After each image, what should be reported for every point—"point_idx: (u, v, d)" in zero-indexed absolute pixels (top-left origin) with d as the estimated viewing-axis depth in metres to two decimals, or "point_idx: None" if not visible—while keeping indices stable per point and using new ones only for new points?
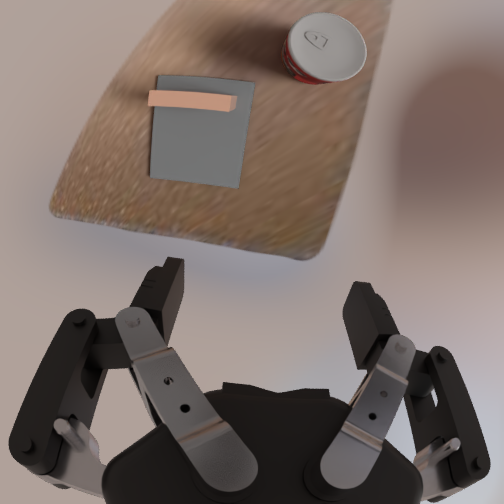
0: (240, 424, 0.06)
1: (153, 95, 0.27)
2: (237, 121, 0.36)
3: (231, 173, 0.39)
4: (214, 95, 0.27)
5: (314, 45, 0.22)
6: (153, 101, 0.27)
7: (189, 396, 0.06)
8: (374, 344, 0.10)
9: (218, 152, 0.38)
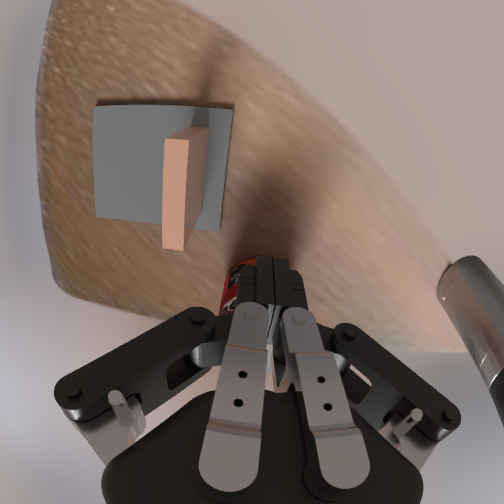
0: None
1: (180, 146, 0.19)
2: None
3: (109, 209, 0.30)
4: (181, 231, 0.23)
5: None
6: (171, 147, 0.19)
7: (250, 396, 0.07)
8: (275, 317, 0.11)
9: (130, 192, 0.29)
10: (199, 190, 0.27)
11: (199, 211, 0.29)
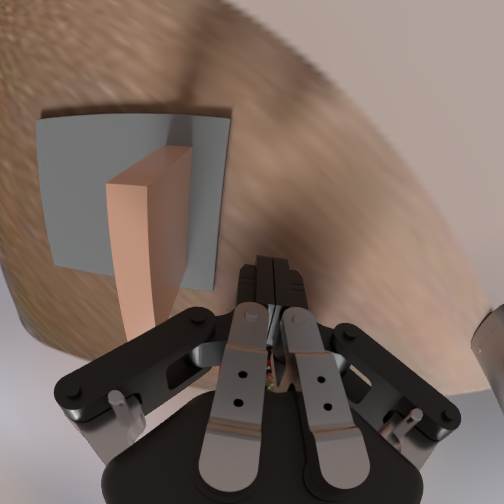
0: None
1: (133, 198, 0.10)
2: None
3: (68, 257, 0.22)
4: (151, 325, 0.14)
5: None
6: (117, 198, 0.10)
7: (250, 396, 0.07)
8: (275, 316, 0.11)
9: (90, 238, 0.21)
10: (180, 244, 0.18)
11: (183, 269, 0.20)
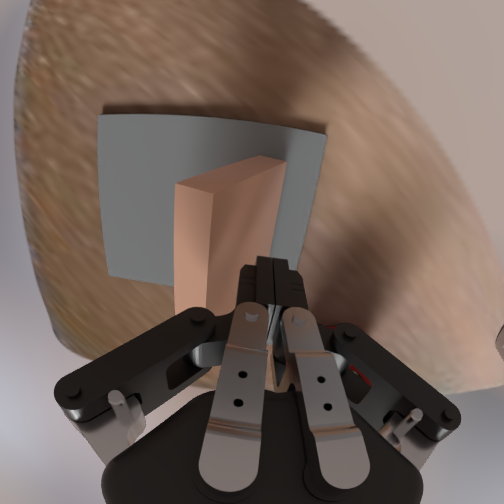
0: None
1: (199, 203, 0.11)
2: None
3: (128, 267, 0.22)
4: None
5: None
6: (184, 200, 0.11)
7: (250, 396, 0.07)
8: (275, 317, 0.11)
9: (159, 248, 0.21)
10: None
11: None
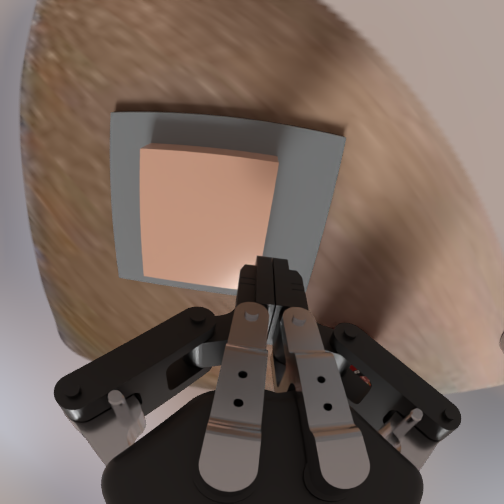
0: None
1: None
2: None
3: (140, 269, 0.22)
4: None
5: None
6: None
7: (250, 396, 0.07)
8: (275, 316, 0.11)
9: None
10: (230, 248, 0.18)
11: None
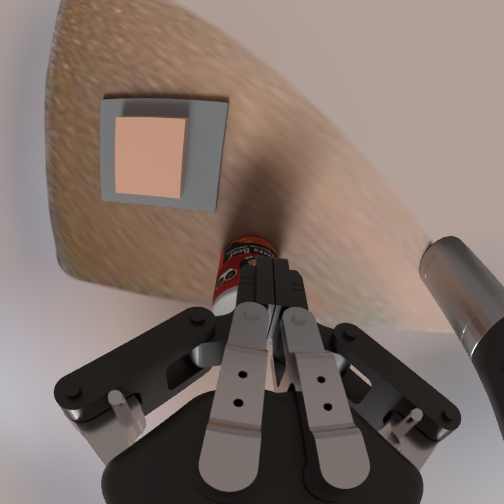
0: None
1: None
2: None
3: (114, 193, 0.33)
4: None
5: None
6: None
7: (250, 396, 0.07)
8: (275, 317, 0.11)
9: None
10: (163, 170, 0.30)
11: (169, 192, 0.31)
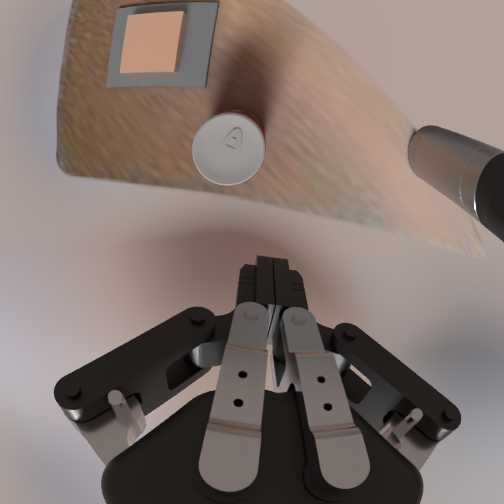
0: None
1: None
2: (166, 75, 0.33)
3: (118, 79, 0.33)
4: (121, 61, 0.30)
5: (227, 137, 0.28)
6: None
7: (250, 396, 0.07)
8: (275, 317, 0.11)
9: None
10: (162, 49, 0.30)
11: (165, 67, 0.31)
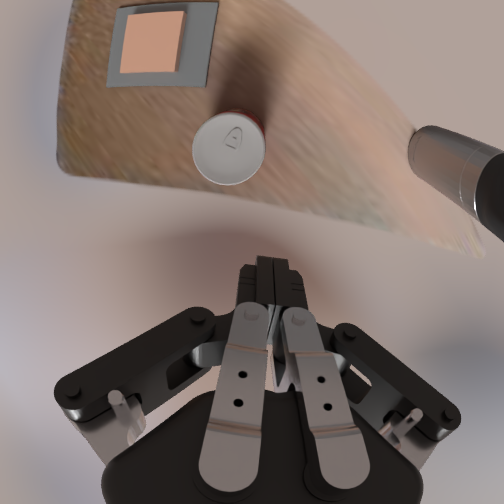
0: None
1: None
2: (166, 75, 0.33)
3: (118, 79, 0.33)
4: (121, 61, 0.30)
5: (227, 137, 0.28)
6: None
7: (250, 396, 0.07)
8: (275, 316, 0.11)
9: None
10: (162, 49, 0.30)
11: (165, 66, 0.31)
